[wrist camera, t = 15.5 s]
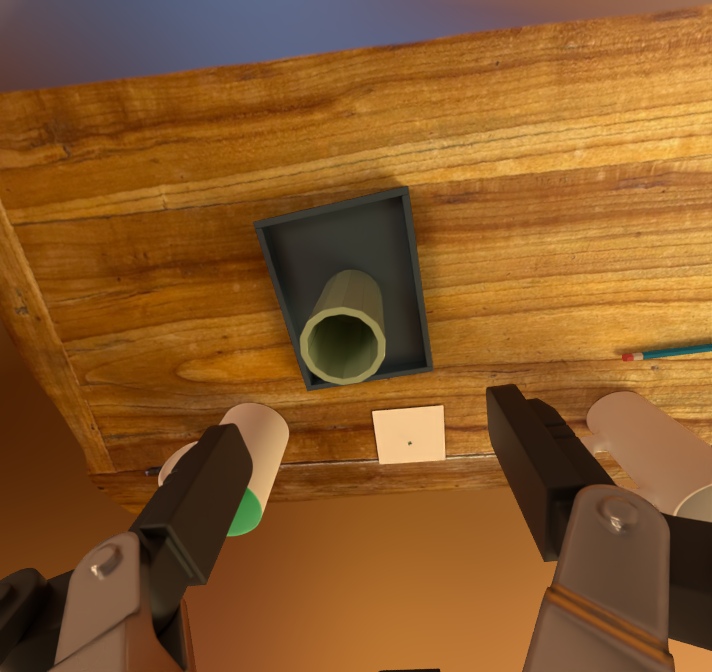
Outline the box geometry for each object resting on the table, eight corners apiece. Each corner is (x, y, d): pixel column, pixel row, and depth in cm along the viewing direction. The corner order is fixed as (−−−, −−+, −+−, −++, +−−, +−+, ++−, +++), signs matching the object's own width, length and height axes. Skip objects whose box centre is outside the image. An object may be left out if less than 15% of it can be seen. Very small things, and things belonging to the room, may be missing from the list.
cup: (316, 276, 31) (288, 316, 21) (376, 263, 30) (377, 299, 20) (330, 329, 33) (311, 390, 23) (386, 319, 32) (392, 377, 22)
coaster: (443, 405, 36) (444, 409, 36) (445, 459, 40) (446, 464, 39) (372, 411, 37) (372, 415, 37) (379, 464, 40) (379, 469, 40)
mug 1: (204, 461, 42) (155, 540, 32) (182, 409, 39) (119, 480, 29) (295, 453, 40) (271, 533, 31) (279, 399, 37) (248, 470, 28)
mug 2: (652, 383, 34) (783, 472, 23) (646, 432, 37) (762, 535, 26) (551, 400, 36) (630, 492, 25) (552, 447, 38) (624, 549, 27)
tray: (260, 220, 30) (252, 222, 28) (405, 186, 28) (408, 185, 26) (310, 380, 36) (307, 391, 34) (430, 361, 34) (434, 371, 33)
